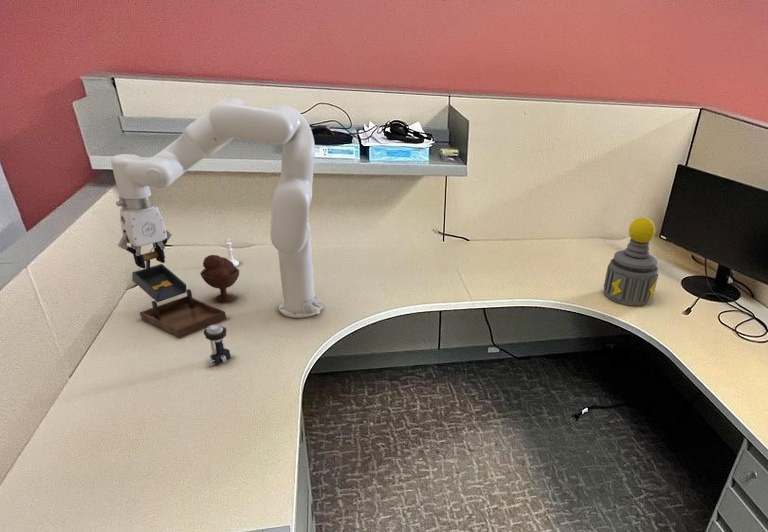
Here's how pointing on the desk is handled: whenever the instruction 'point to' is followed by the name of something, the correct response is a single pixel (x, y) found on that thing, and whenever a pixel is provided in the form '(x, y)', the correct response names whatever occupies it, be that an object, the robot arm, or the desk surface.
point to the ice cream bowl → (220, 275)
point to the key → (162, 284)
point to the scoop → (158, 280)
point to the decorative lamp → (633, 268)
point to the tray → (182, 315)
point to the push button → (217, 344)
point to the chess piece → (231, 252)
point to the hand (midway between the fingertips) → (151, 263)
